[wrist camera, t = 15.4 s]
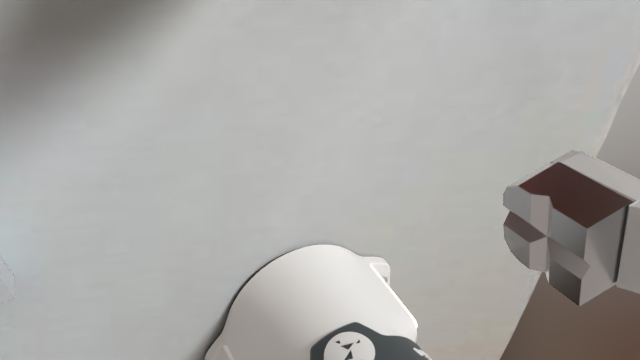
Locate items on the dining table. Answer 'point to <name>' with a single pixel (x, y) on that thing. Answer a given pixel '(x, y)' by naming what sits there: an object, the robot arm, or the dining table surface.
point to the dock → (6, 283)
